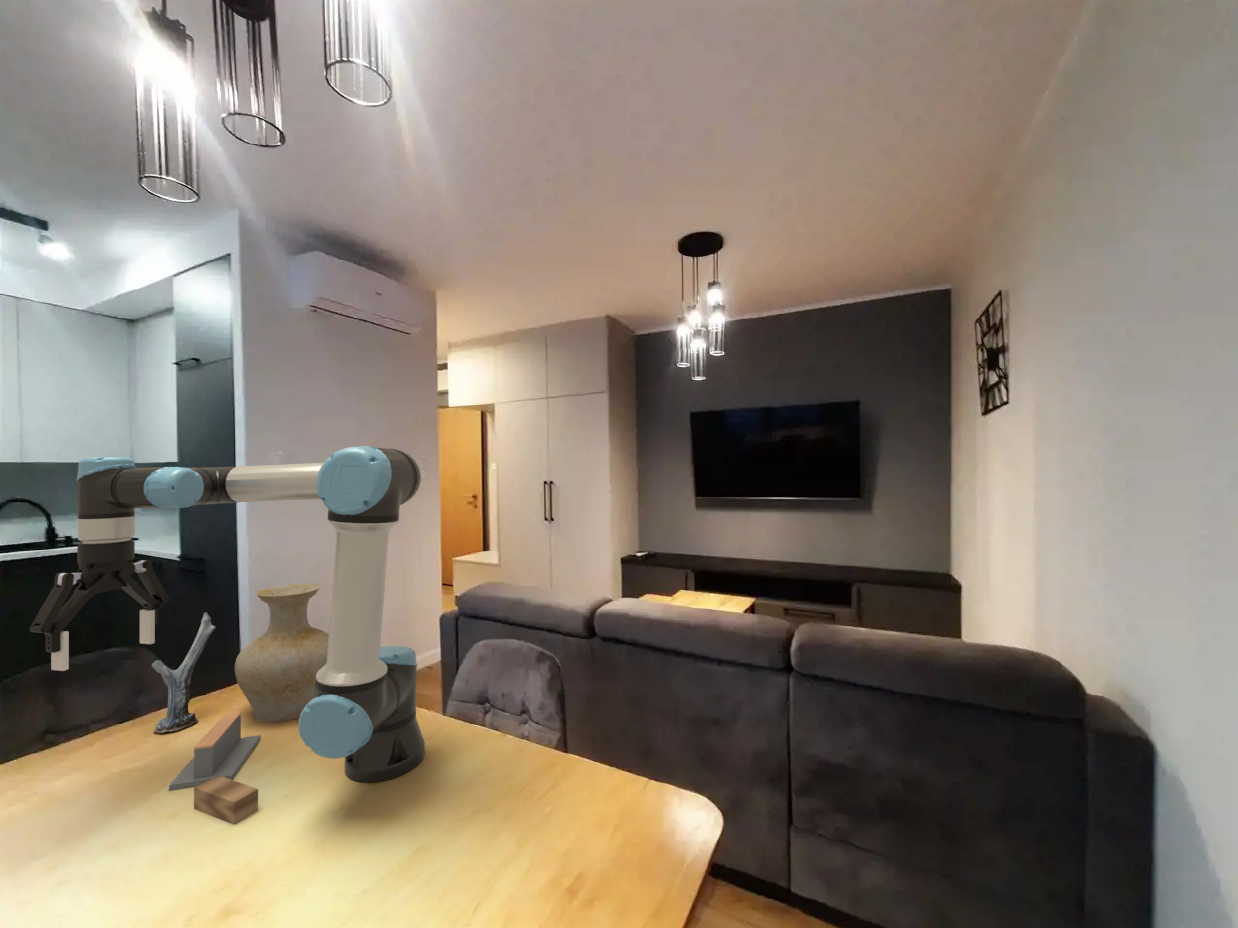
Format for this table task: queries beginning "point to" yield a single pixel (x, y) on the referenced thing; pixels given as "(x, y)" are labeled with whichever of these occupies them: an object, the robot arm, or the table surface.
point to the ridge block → (217, 753)
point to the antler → (182, 682)
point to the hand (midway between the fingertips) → (106, 655)
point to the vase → (283, 656)
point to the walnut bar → (226, 799)
